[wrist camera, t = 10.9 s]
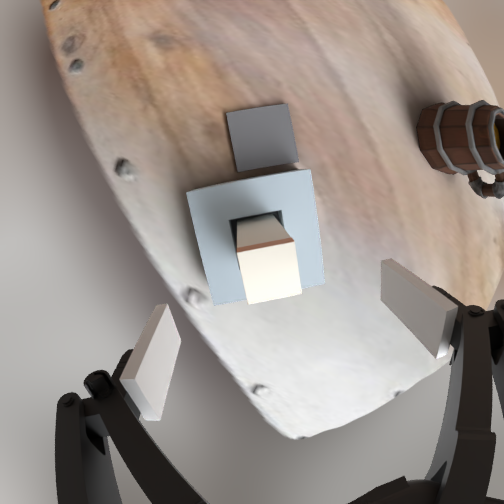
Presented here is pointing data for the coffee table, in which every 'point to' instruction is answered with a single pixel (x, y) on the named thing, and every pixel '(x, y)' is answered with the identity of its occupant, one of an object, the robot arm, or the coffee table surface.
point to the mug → (465, 142)
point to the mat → (262, 137)
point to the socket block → (252, 205)
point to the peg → (267, 259)
